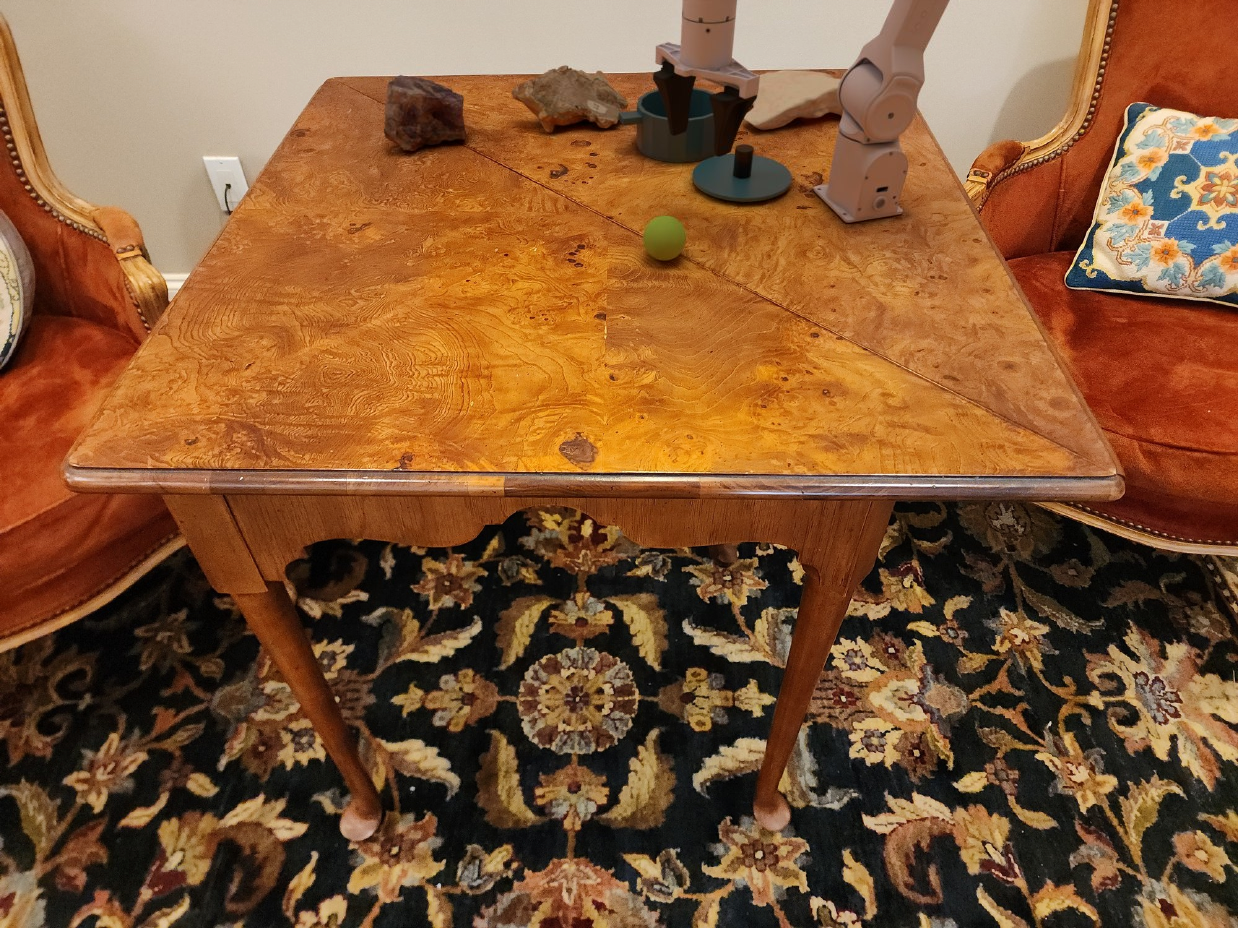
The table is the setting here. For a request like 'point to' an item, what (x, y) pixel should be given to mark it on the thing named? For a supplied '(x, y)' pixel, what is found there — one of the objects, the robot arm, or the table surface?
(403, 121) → the rock
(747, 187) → the lid
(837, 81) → the decorative stone
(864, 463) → the table surface
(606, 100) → the mineral specimen
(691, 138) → the pot
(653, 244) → the ball
